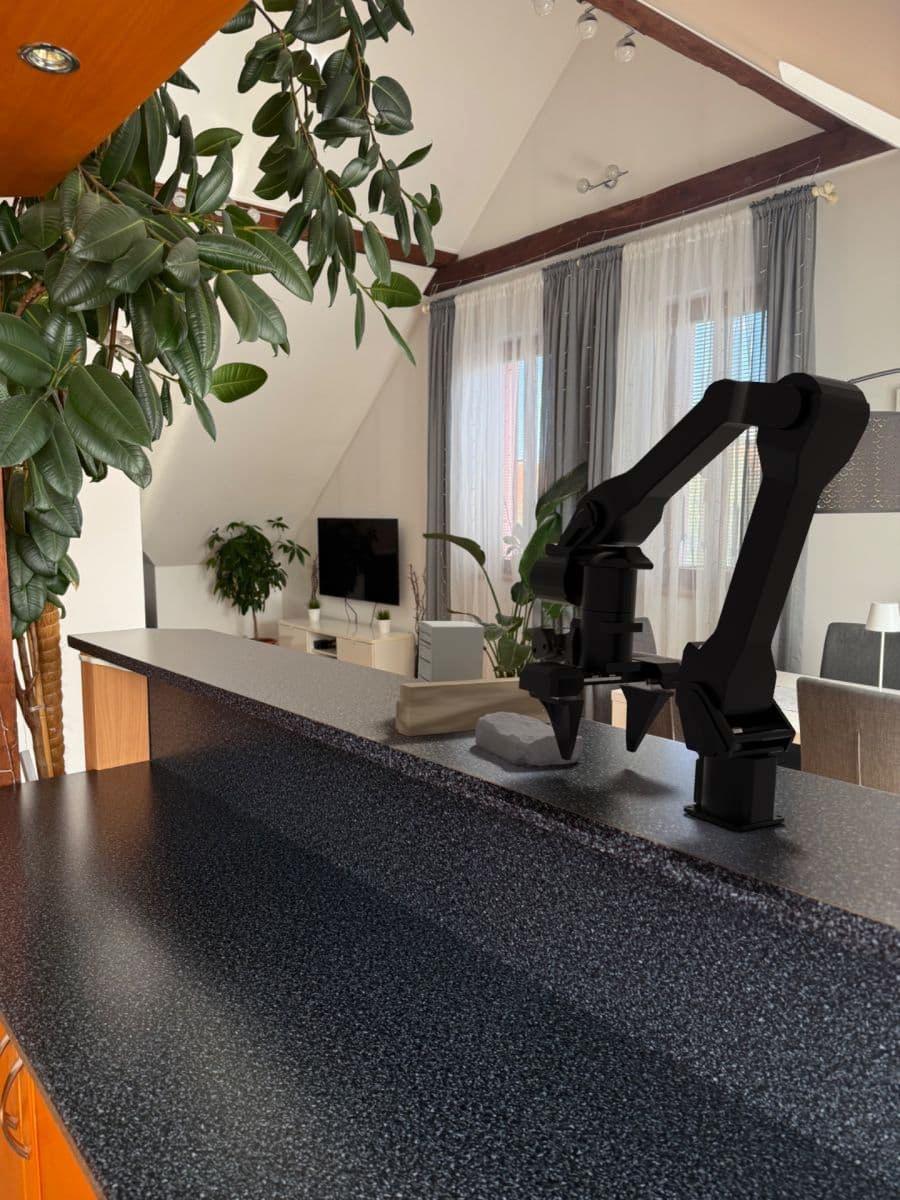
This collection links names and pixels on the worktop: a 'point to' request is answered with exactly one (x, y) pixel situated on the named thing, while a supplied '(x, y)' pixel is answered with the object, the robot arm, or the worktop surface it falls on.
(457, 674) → the supplement box
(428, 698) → the block
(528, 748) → the stone block
